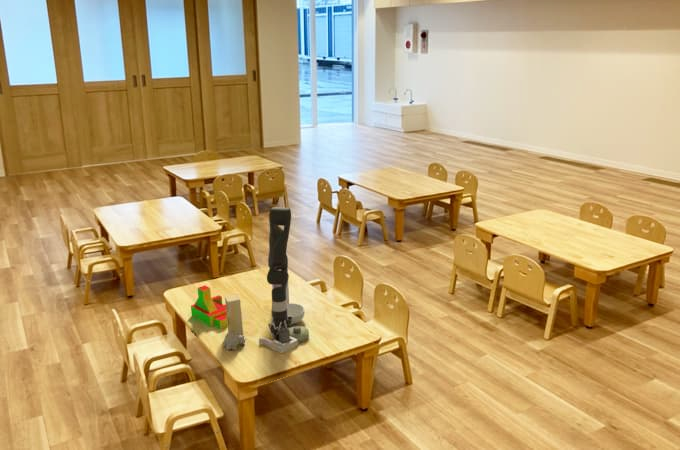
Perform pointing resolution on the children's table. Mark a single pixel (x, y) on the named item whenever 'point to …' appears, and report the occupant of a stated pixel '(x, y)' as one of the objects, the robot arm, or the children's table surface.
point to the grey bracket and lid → (296, 336)
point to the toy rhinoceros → (233, 340)
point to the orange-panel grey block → (283, 335)
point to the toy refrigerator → (234, 314)
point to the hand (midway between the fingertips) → (281, 338)
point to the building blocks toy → (209, 308)
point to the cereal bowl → (295, 312)
